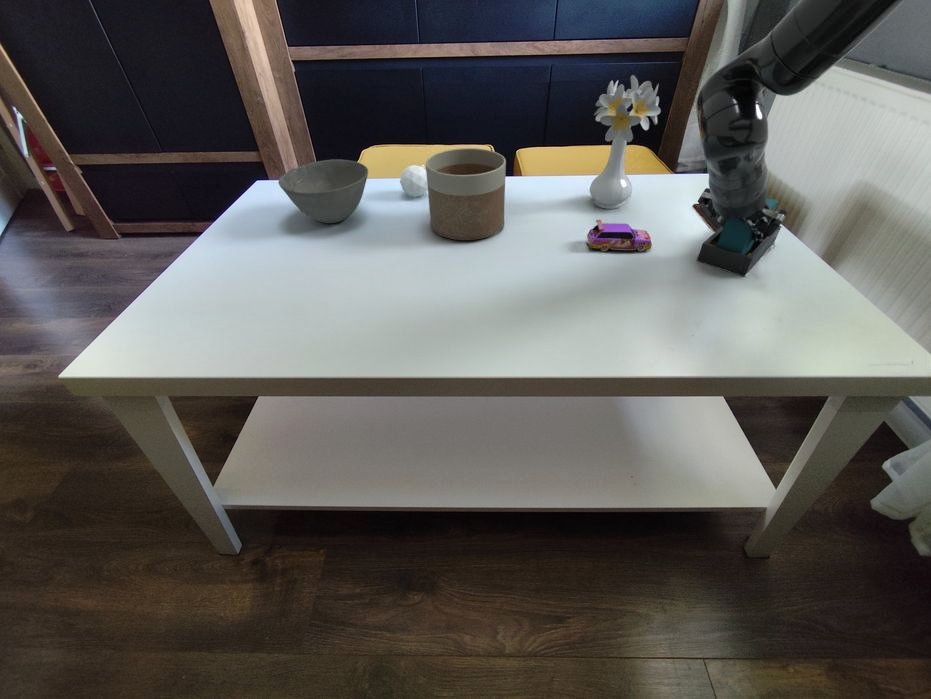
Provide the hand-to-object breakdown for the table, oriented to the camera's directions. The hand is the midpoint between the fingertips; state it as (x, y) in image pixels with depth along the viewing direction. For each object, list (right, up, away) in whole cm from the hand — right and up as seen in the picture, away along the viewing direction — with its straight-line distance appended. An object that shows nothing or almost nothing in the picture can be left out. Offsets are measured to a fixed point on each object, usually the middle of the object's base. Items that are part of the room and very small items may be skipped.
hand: (743, 231), depth 83 cm
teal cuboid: (+4, 0, +6) cm, 7 cm away
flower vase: (-17, +12, +22) cm, 30 cm away
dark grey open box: (+1, -3, +5) cm, 5 cm away
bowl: (-81, +8, +21) cm, 84 cm away
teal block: (-1, -4, +2) cm, 5 cm away
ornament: (-63, +16, +29) cm, 71 cm away
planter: (-50, +5, +16) cm, 53 cm away
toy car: (-20, -1, +8) cm, 22 cm away
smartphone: (+4, +6, +15) cm, 17 cm away
